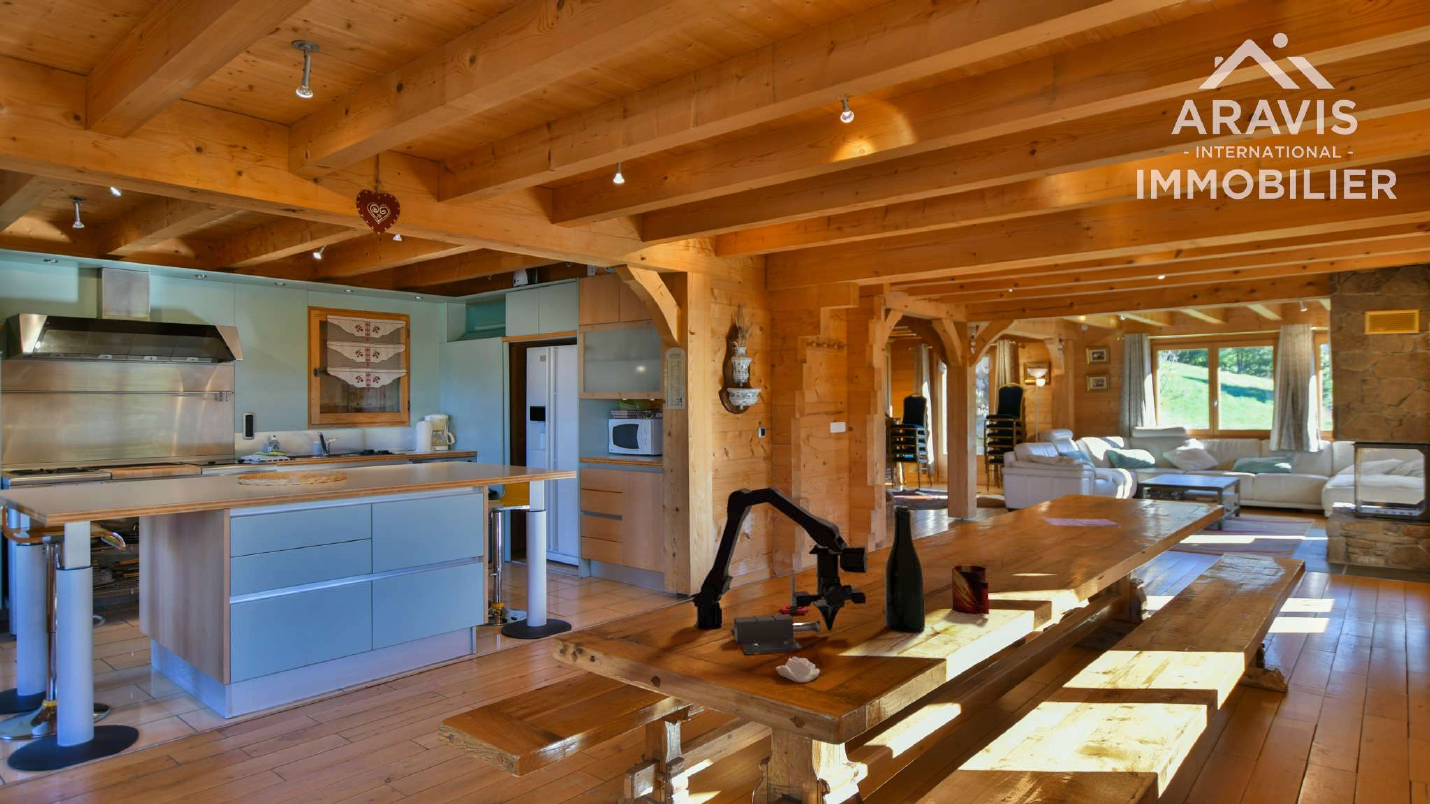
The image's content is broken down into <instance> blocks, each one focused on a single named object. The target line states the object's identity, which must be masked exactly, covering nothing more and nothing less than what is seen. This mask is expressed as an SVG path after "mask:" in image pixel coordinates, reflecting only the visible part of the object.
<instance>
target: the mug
mask: <svg viewBox="0 0 1430 804" xmlns="http://www.w3.org/2000/svg"><path fill="white" fill-rule="evenodd" d="M951 585H952V587H951V589H952V593H951V594H952V610H953V611H954V612H957V613H960V614H967V615H968V614H969V615H982V614H984V615H990V601H989V583H988V581H987V568H986V567H983V566H980V565H979V566H978V565H974V564H973V565H970V564H969V565H968V564H962V565H960V564H959V565H953V566H952V567H951Z"/></svg>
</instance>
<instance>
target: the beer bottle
mask: <svg viewBox="0 0 1430 804" xmlns="http://www.w3.org/2000/svg"><path fill="white" fill-rule="evenodd" d="M911 516H912V515H911V511H909V506H908V505H907V506H906V505H898V506H896V507H895V510H894V514H893V517H894V533H893V534H894V535H893V541H892V546H891V547H890V548H891V549H890V552H889V554H888V557H887V560H886V565H885V570H884V571H885V575H884V577H885V579H884V586H885V587H884V589H885V590H884V594H885V595H884V603H885V604H884V605H885V607H884V608H885V610H884V613H885V616H884V617H885V626H886V628H888V629H889V630H890V631H893V632H899V633H917V632H920V631H922V630H924V629H925V627H926V608H925V607H926V606H925V589H924V587H925V586H924V573H923V566H922V563H921V559H920V557H919V555H918V553H917V550H916V547H915V544H914V541H913V535H912V525H911V522H912V521H911V518H912V517H911Z"/></svg>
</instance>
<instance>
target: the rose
mask: <svg viewBox="0 0 1430 804" xmlns="http://www.w3.org/2000/svg"><path fill="white" fill-rule="evenodd" d="M775 670H776V671H777V672H778V674H779V676H782V677H785V678H787V679H789V680H792V681H794V682H797V683H809V682H810V681H813V680H815V679H816V678H817V677H818V676H819V674H820V672H821V671H820V669H819V668H816V664H814V663H813V662H810V661H809V660H808V659H807V658H806V657H805V658H803V657H801V658H800V657H797V656H792V658H791V657H789V658H788V659H787V662H785V665H778V666H776V667H775Z"/></svg>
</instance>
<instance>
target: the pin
mask: <svg viewBox="0 0 1430 804" xmlns="http://www.w3.org/2000/svg"><path fill="white" fill-rule="evenodd" d="M820 621H821V620H820V619H814V621H809V622H793V634H798V633H809V632H811V633H813V632H814V633H815V634H821V631H822V627H821V626H822V625H821V622H820Z"/></svg>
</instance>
